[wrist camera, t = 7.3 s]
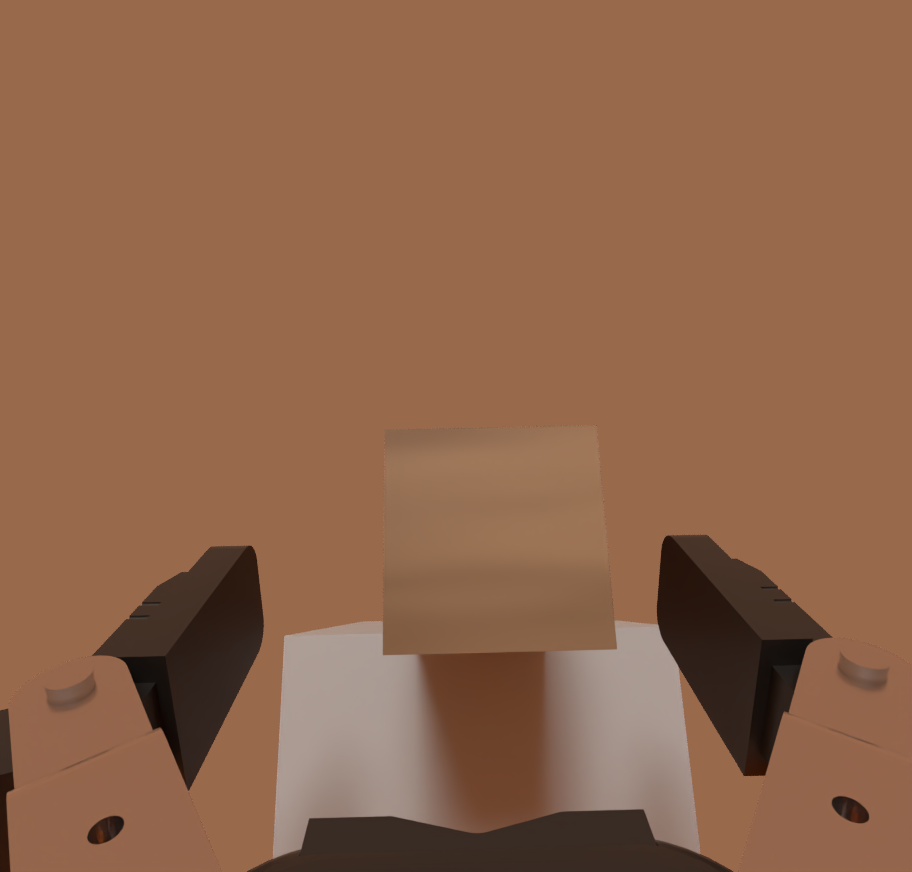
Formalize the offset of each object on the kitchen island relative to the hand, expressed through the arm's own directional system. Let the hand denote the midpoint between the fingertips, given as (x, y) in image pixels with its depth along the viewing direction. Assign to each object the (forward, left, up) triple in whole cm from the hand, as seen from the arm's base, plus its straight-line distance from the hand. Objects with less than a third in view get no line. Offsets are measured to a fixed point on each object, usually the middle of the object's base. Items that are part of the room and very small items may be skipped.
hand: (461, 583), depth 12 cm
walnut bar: (-9, -6, -1) cm, 11 cm away
